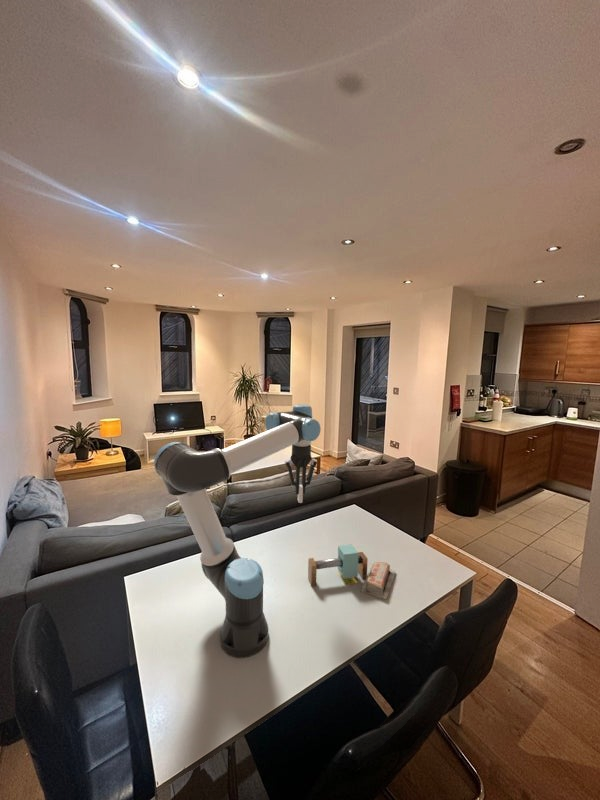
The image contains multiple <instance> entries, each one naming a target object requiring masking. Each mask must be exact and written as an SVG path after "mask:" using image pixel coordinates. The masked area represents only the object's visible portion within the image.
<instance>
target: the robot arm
mask: <svg viewBox="0 0 600 800" xmlns="http://www.w3.org/2000/svg"><path fill="white" fill-rule="evenodd" d="M264 423H265V425H264V426H265V429H266V431H263V432H261V433H258V434H256V435H253V436H251V437H249V438H246V439H243V440H241V441H238V442H237V443H234V444H231V445H229V446H227V447H225V448H221V449H220V448H217V447H215V448H211V449H210V450H207V451H198V450H196V449H194V448H193V447H190V445H189V444H188V443H184V442H181V441H180V442H177V441H173V442H169V443H167V444H164V445H163V446H162V447H161V448H159V450H158V451H157V453H156V455H155V457H154V459H153V466H154V469H155V473H157V475H159V476H160V477H161V480H162V481H163V483H164V486H165V488H166V490H167V491H168V493H169V495H170V496H172V497H176V498H177V500H178V502H179V505H180V507H181V510H182V511H183V513H184V515H185V517H186V519H187V522H188V524H189V527H190V528H191V531H192V533H193V535H194V538H195V539H196V541H197V543H198V546H199V548H200V550H201V553H200V556H199V557H200V559H199V560H200V562H201V568H202V572H203V574H204V576H205V578H206V579H207V580H208V581H210V582H211V584H212V585H213V586H214V587H215V588H216V590H217V591H218V592H219V593H220V595H221V596H222V597H223V599H224V602H225V618H224V620H223V623H222V626H221V629H220V634H219V643H220V646H221V649H222V650H223V651H224V652H225V653H226V654H227V655H229V656H231V657H234V658H247V657H251V656H254V655H256V654H257V653H259V652H260V651H262V649H264V647H265V646H266V644H267V642H268V639H269V624H268V622H267V619H266V616H265V613H264V583H265V582H264V580H265V579H264V572H263V568H262V566H261V565H260V564H259V563H258V562H257V561H256V560H254V559H251V558H250V559H248V558H246V557H241V556H240V554H239V553H238V550H237V549H236V546H235V543H234V541H233V540H232V539H231V538H229V537H227V536H226V534H225V531H224V529H223V527H222V524H221V521H220V520H219V517H218V515H217V513H216V510H215V508H214V506H213V503H212V501H211V498H210V496H209V493H208V492H207V489H209V488H212V487H214V486H216V485H217V486H218V485H219V484H222V483H224V482H226V481H227V480H230V478H231V475H232V474H234V473H236V472H238V471H240V470H242V469H244V468H247V467H249V466H250V465H252V464H255V463H257V462H259V461H261V460H263V459H265V458H268V457H269V456H272V455H274V454H277V453H278V452H280V451H282V450H285V449H286V448H289V447H291V456H290V459H287V460H285V461H284V463H285V465H286V468H287V470H288V475H289V478H290V484H291V486H293V487H294V486H295V487H294V492H295V494H296V495H297V502H298V503H299V504H303V497H304V496H303V495H305V494H306V487H307V486H309V485H310V484H311V482H312V477H313V474H314V470H315V467H316V466H317V464H318V461H317V460H316V459H314V458H312V452H311V451H312V445H311V444H312V442H313V441H316V440H317V439H318V438H319V436H320V435H321V434H320V433H321V423H320V422H319V421H318V420H316V419H314V418H313V408H312V406H311V405H308V404H295V405H293V406H292V410H291V411H290V410H289V411H278V412H277V411H275V412H271V413H268V414H267V416H266V417H265V421H264ZM292 463H293V465H294V466H295V476H294V474H293V470H292V469H293V468H292ZM309 464H310V465H309ZM308 465H309V468H308V473H307V466H308ZM300 471H301V472H300ZM300 473H301V484H300ZM294 477H295V479H294Z"/></svg>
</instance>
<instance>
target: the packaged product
mask: <svg viewBox="0 0 600 800" xmlns="http://www.w3.org/2000/svg"><path fill="white" fill-rule="evenodd" d="M395 573H396V570H395V569H391V565H390V564H389V563H388V562H385V561H383V562H381V561H377V562H376V561H374V563H373V564H371V566H370V567H369V570H368V572H367V577H366V579H364V582H363V585H362V586H361V587H362V588H361V589H360V592H362V593H365V594H368V595H370V596H374V597H377V598H379V599H382V600H383V599H384V600H388V596H389V594H390V591H391V587H392V584H393V581H394V577H395V575H396V574H395Z"/></svg>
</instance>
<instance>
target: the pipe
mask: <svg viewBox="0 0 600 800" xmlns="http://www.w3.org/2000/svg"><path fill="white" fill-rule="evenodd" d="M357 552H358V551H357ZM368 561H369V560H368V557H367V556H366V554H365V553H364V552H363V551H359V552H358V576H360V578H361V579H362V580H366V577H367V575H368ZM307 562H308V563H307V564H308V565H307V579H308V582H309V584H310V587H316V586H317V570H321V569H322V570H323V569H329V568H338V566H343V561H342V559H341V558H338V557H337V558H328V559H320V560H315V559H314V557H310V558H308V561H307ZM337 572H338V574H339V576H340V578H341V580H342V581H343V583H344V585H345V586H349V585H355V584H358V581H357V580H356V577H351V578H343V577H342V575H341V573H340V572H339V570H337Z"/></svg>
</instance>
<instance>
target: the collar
mask: <svg viewBox="0 0 600 800" xmlns="http://www.w3.org/2000/svg"><path fill="white" fill-rule="evenodd" d="M337 547H338V548H337V558H341V559H342V561H343V566H338V567H337V569H338V570H339V572H340V573H341V575H342V577H343V578H351V577H354V578H357V577H359V573H358V550H357V549H356V548H355V546H354V545H353V544H343V545H338V546H337ZM338 570H337V571H338ZM339 572H338V573H339Z"/></svg>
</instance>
